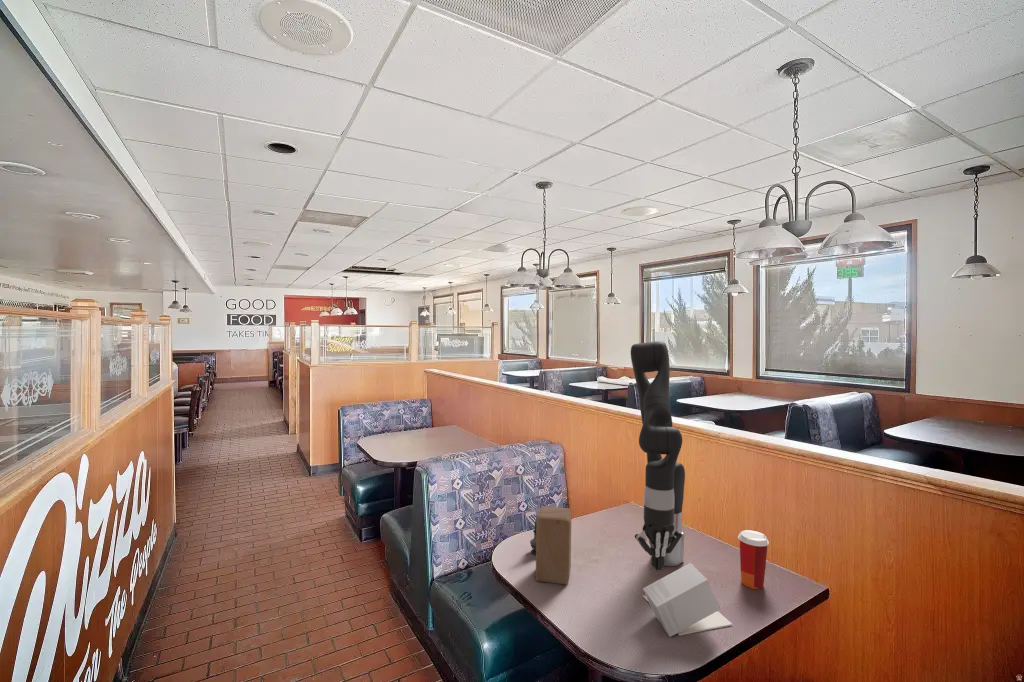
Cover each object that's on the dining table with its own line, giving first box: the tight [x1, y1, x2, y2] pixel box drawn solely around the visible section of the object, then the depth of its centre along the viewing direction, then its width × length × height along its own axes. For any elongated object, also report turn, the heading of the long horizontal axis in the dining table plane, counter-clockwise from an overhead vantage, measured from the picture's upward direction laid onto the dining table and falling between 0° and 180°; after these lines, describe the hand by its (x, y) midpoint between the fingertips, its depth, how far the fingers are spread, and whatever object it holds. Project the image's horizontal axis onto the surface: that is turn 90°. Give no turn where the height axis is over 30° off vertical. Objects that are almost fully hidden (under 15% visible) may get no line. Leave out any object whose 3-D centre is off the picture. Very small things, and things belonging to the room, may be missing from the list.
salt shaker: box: [529, 520, 537, 557], centre depth 157 cm, size 6×6×12 cm
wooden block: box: [535, 505, 573, 585], centre depth 143 cm, size 10×10×20 cm
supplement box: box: [642, 562, 721, 638], centre depth 119 cm, size 9×9×15 cm
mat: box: [642, 594, 733, 636], centre depth 126 cm, size 16×17×1 cm
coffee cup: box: [737, 529, 770, 590], centre depth 139 cm, size 8×8×15 cm
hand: (657, 569), depth 119 cm, fingers closed
